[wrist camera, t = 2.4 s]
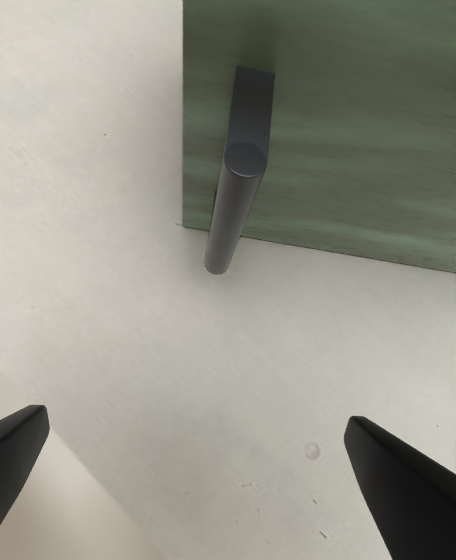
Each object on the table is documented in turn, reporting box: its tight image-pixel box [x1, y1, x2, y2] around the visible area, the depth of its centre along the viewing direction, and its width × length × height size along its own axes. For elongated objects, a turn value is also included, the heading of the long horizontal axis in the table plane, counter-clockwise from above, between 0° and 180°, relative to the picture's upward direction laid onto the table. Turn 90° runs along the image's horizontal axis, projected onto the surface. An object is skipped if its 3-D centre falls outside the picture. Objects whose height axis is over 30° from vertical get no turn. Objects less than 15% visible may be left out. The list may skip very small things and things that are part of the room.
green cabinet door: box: [182, 0, 456, 274], centre depth 15 cm, size 6×26×24 cm, turn 83°
